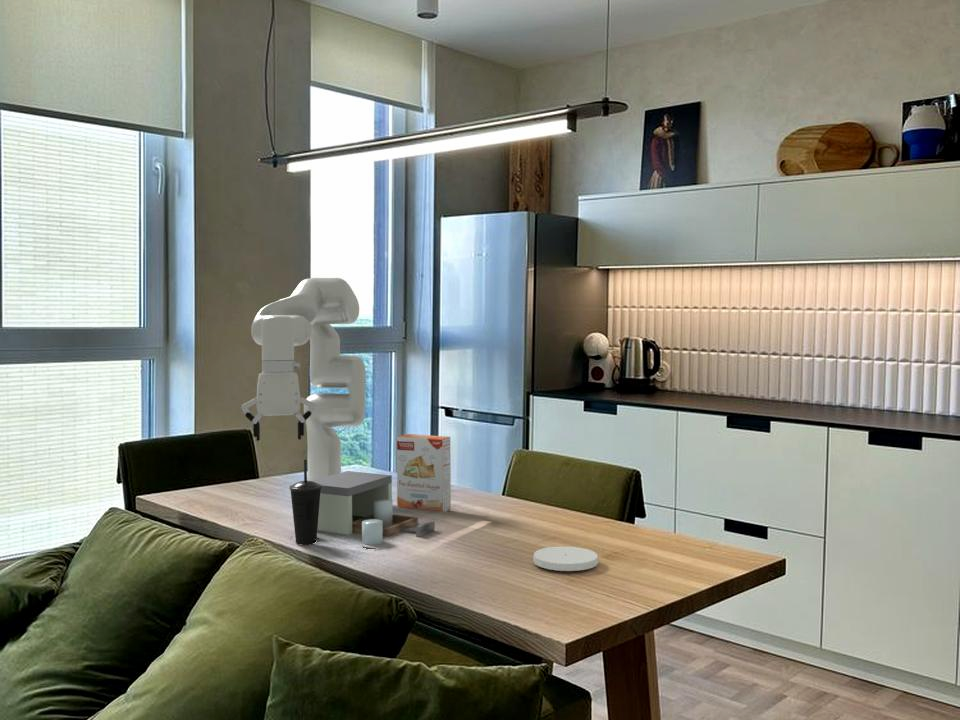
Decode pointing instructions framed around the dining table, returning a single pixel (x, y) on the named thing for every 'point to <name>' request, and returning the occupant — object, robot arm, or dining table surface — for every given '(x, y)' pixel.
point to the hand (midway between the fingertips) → (278, 439)
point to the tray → (399, 526)
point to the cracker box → (423, 472)
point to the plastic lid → (565, 558)
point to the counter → (349, 498)
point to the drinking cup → (305, 509)
